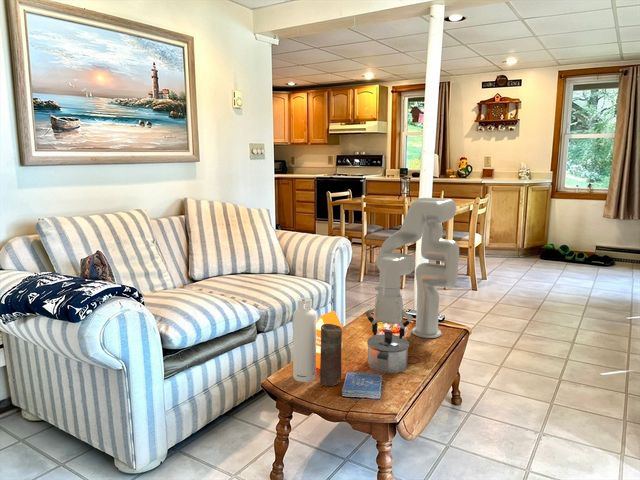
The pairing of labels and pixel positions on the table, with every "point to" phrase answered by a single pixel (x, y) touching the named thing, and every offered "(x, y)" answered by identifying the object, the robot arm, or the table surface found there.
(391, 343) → the lid
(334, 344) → the candle
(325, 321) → the orange juice
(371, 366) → the pot
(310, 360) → the bottle
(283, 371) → the table surface
